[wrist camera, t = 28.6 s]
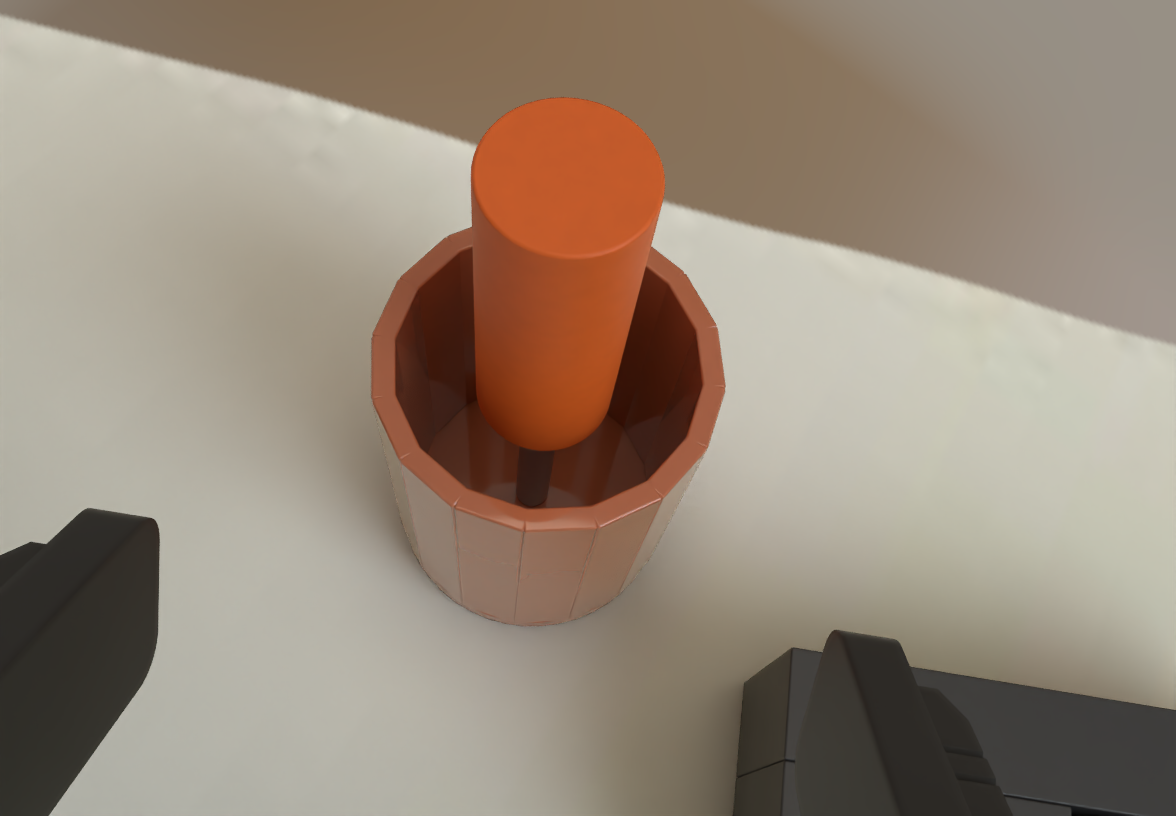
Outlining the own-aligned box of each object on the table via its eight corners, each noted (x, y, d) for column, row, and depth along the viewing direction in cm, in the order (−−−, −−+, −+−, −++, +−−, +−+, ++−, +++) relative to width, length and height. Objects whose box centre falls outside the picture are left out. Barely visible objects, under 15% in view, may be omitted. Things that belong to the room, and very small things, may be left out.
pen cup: (467, 673, 29) (460, 592, 20) (362, 439, 31) (316, 282, 23) (706, 558, 30) (787, 441, 22) (589, 345, 33) (624, 169, 25)
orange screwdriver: (506, 560, 29) (522, 286, 16) (461, 467, 30) (439, 131, 16) (603, 516, 30) (700, 216, 16) (556, 426, 31) (610, 72, 17)
